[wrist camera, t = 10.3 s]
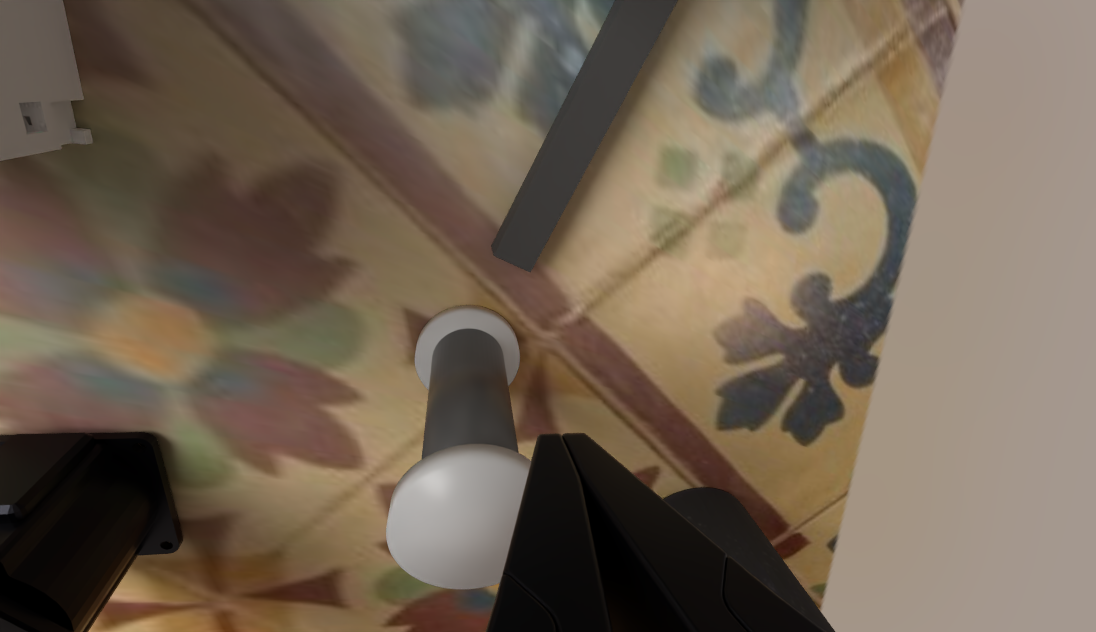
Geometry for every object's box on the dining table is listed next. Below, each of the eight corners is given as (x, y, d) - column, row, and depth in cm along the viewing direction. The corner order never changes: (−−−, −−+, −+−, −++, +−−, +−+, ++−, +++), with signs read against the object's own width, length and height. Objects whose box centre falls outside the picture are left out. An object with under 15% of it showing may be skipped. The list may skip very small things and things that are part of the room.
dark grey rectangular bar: (524, 259, 22) (530, 272, 20) (490, 243, 21) (493, 255, 20) (682, -36, 18) (702, -45, 17) (645, -64, 18) (662, -76, 16)
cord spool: (517, 392, 24) (551, 580, 15) (419, 396, 23) (392, 596, 14) (519, 304, 22) (559, 458, 13) (413, 305, 21) (378, 470, 12)
